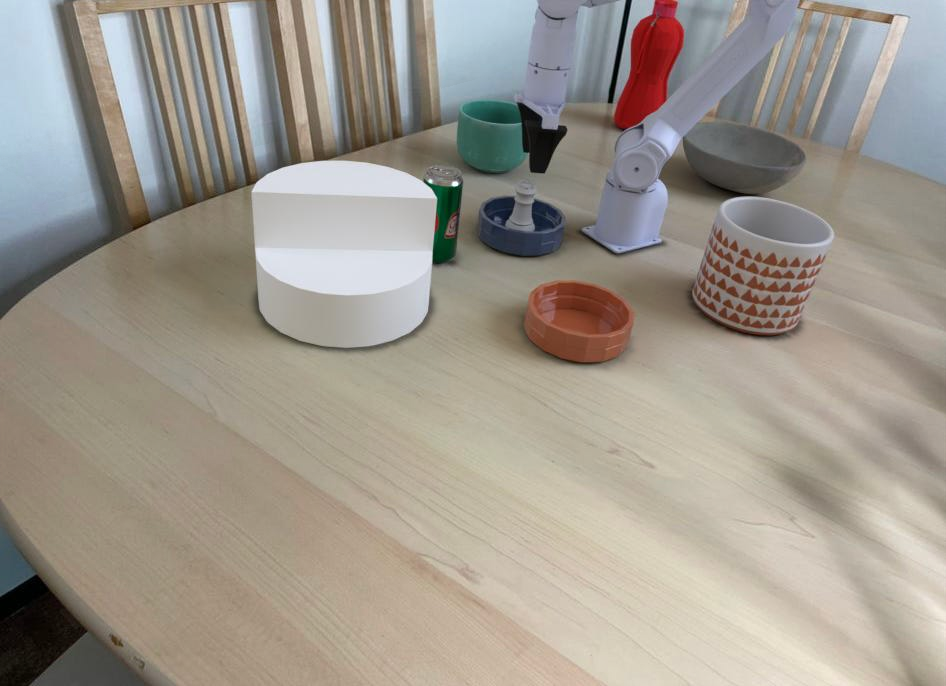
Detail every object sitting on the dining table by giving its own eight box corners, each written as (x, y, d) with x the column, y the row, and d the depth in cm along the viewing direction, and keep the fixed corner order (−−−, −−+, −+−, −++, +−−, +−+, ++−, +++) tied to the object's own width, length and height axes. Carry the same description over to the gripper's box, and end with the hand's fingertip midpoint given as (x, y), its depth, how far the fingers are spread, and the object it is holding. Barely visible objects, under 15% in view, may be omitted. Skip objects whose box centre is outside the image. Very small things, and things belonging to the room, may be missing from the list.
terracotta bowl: (580, 298, 95) (585, 272, 93) (648, 348, 87) (656, 321, 85) (503, 320, 89) (507, 293, 87) (569, 376, 81) (575, 348, 79)
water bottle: (602, 127, 154) (629, -4, 140) (628, 117, 161) (657, -8, 147) (641, 140, 149) (673, 6, 135) (666, 130, 156) (699, 2, 142)
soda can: (450, 267, 98) (459, 181, 91) (413, 260, 98) (419, 174, 92) (458, 250, 102) (468, 167, 95) (423, 244, 103) (429, 160, 96)
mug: (497, 186, 122) (505, 129, 117) (439, 162, 128) (444, 107, 123) (551, 163, 134) (561, 110, 128) (495, 142, 139) (502, 91, 134)
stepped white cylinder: (251, 348, 79) (242, 234, 71) (264, 257, 95) (258, 156, 87) (438, 347, 83) (448, 240, 75) (420, 260, 99) (427, 164, 91)
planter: (723, 271, 105) (752, 187, 98) (815, 314, 98) (853, 227, 91) (671, 300, 97) (698, 210, 90) (766, 350, 89) (804, 256, 82)
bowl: (802, 185, 138) (818, 143, 133) (776, 221, 123) (793, 175, 118) (693, 153, 146) (705, 113, 142) (655, 183, 131) (667, 139, 126)
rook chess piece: (501, 227, 109) (509, 175, 104) (531, 229, 109) (540, 177, 105) (505, 241, 105) (513, 188, 100) (536, 243, 106) (545, 190, 101)
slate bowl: (526, 213, 114) (530, 190, 112) (578, 248, 107) (583, 224, 104) (460, 227, 108) (463, 202, 106) (510, 264, 100) (514, 239, 98)
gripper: (513, 47, 104) (500, 141, 112) (526, 77, 93) (511, 179, 100) (562, 52, 105) (546, 145, 113) (581, 82, 93) (563, 183, 101)
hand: (533, 162), depth 107 cm, fingers open, 7 cm apart
